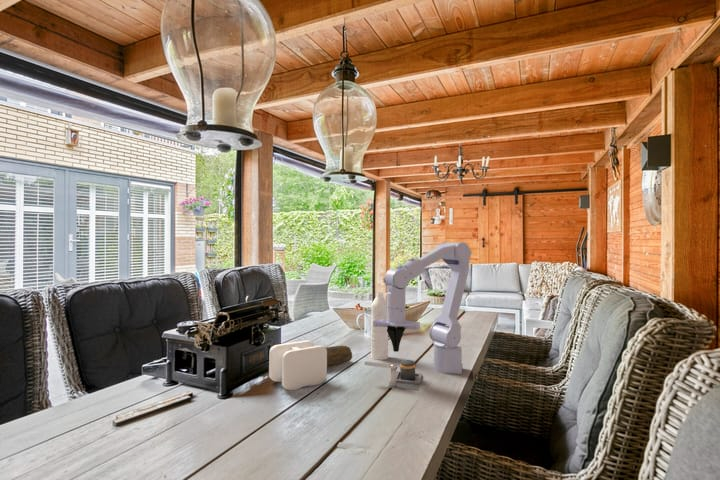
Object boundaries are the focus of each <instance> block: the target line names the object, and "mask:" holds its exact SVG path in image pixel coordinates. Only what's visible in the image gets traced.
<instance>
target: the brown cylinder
mask: <svg viewBox="0 0 720 480" xmlns="http://www.w3.org/2000/svg"><path fill="white" fill-rule="evenodd" d="M325 348H326V349H327V368H330V367H335V366H340V365H343V364H345V363H348V362H350V361H352V358H353V352H352V349H351V347H349V346H347V345H335V346H328V347H325Z"/></svg>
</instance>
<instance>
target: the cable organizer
mask: <svg viewBox="0 0 720 480" xmlns="http://www.w3.org/2000/svg"><path fill="white" fill-rule="evenodd" d="M268 354H269V355H268V360H269V361H268V363H269V364H268V377H269V379H271V381H273V382H278V383H281V385H282V387H283V388H284V389H286V390H290V391H291V392H292V391H296V390H300V389H302V388H303V387H307V386H310V387H312V386H316V385H320V384H321V383H323V382H324V381H326V379H327V377H328V372H327V371H328V367H327V349H326V347H325V346H323V345H315V343H314V342H313V341H311V340H309V339H307V340H299V341H294V342H293V341H291V342H287V343H281V344H280V343H279V344H275V345H272V346H271V347H270V348H269V353H268Z"/></svg>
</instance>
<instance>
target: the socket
mask: <svg viewBox="0 0 720 480" xmlns="http://www.w3.org/2000/svg"><path fill="white" fill-rule="evenodd" d="M422 377H423V373H419V372H415V380H413V381H410V380H401V374H400V371H399V370H398V371H397V369H391V368H390V381H389V382H388V383H389V384H388V386H387V388H389V389H399V390H407V391H408V390H409V391H419V390H420V386H421V381H422Z"/></svg>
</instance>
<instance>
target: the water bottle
mask: <svg viewBox="0 0 720 480" xmlns="http://www.w3.org/2000/svg"><path fill="white" fill-rule="evenodd" d="M385 297H387V292H385V293H384V292H382V291H379V292H376V296H375V298H374V299H373V301H372V302H371V305H370V309H371V314H370V315H371V316H370V317H371V319H370V323H371V326H370V331H371V332H370V358H371V359H373V360H378V361H379V360H380V361H381V360H387V359H388V358H389V334H388V333H387V327H373V320H387V299H386V298H385Z"/></svg>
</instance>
